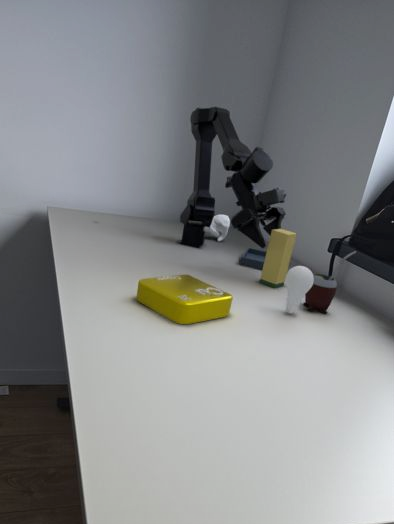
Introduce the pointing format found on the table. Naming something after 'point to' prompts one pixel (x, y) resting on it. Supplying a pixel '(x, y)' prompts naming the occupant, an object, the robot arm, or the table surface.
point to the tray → (253, 258)
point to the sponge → (277, 257)
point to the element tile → (184, 298)
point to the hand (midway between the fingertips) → (273, 246)
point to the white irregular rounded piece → (219, 226)
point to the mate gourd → (322, 290)
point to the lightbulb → (297, 286)
